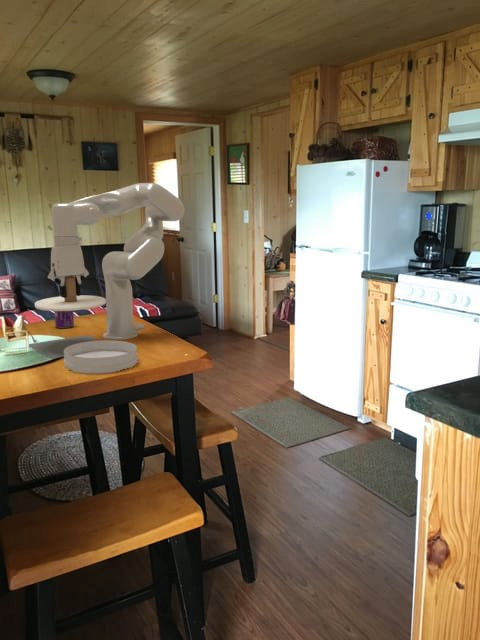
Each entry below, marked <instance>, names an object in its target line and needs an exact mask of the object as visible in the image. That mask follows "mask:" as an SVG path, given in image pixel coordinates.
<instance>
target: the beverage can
mask: <svg viewBox="0 0 480 640" xmlns="http://www.w3.org/2000/svg"><path fill="white" fill-rule="evenodd" d="M74 325H75V321H74V311H54V326H55V327H56V328H59V329H70V328H72V327H73V326H74Z"/></svg>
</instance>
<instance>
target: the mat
mask: <svg viewBox="0 0 480 640" xmlns="http://www.w3.org/2000/svg"><path fill="white" fill-rule="evenodd" d="M100 340H101V339H98V338H95V337H93V336H91V335H81V336H74V337H67V338H60V339H59V338H58V339H54V340H46V341H41V342H33V343H28V344H29V348H31V349H33V350H34V351H36V352H38V353H41V354H42V355H44V356H46V357H48V358H49V359H52V360H53V359H59V358H64V350H65V348H67V347H68V346H71V345H74V344H78V343H82V342H89V341H100ZM108 349H109V348H108ZM75 353H76V352H75ZM72 354H73V353H72Z"/></svg>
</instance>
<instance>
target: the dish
mask: <svg viewBox="0 0 480 640" xmlns="http://www.w3.org/2000/svg"><path fill="white" fill-rule="evenodd" d="M99 340H100V341H89V342H82V343H78V344H74V345H71V346H68V347H67V348H65V350H64V357H63V365H64V367H65V368H67V369H69V370H68V371H70V372H72V373H79V374H86V375H87V374H88V375H89V374H90V375H91V374H111V373H116V371H118V372H121V371H120V370H123V369H126V368H129V367H131V368H133V367H132V366H133V365H135V364H136V363H137V364H138V361H137V360H138V354H137V351H138V350H137V348H138V347H137V345H136V344H135V343H132V342H129V341H128V342H127V341H125V340H123V341H122V340H115V339H105V340H104V339H103V340H101V339H99ZM108 348H109V349H108ZM75 352H76V353H75ZM72 353H73V354H72ZM137 364H136V365H137ZM136 365H135V366H136ZM129 369H130V368H129ZM126 370H127V369H126ZM123 371H124V370H123Z"/></svg>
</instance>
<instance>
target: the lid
mask: <svg viewBox="0 0 480 640" xmlns="http://www.w3.org/2000/svg"><path fill="white" fill-rule="evenodd" d="M64 286H66V294H67V297H66V298H63V297H61V295H60V296H53V297H48V298H43V299H40V300H37V301H35V302H34V307H35V309H37V310H41V311H48V312H50V311H51V312H55V311H73V312H74V311H83V310H88V309H89V310H90V309H95V308H98V307H102V306H105V305H106V297H103V296H98V295H84V294H83V295H81V294H80V296H77V294H76V280H75V277H73V276H66V277H65V281H64Z"/></svg>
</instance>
